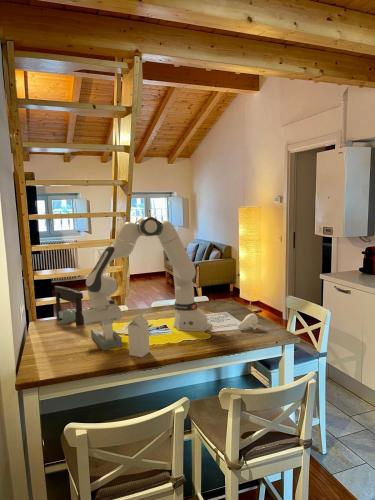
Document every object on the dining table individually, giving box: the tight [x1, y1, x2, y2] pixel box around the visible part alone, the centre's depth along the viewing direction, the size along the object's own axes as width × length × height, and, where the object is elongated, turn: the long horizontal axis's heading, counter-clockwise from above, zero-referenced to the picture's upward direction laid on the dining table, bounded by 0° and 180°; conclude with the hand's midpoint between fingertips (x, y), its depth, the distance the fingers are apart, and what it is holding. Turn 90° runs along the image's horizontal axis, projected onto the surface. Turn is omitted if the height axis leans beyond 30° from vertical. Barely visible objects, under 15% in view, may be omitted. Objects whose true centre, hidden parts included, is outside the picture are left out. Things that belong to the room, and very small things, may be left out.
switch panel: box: [90, 328, 123, 351], centre depth 189 cm, size 22×10×4 cm, turn 29°
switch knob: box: [101, 319, 114, 340], centre depth 184 cm, size 5×5×9 cm
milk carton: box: [127, 313, 150, 358], centre depth 171 cm, size 7×7×19 cm
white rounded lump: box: [237, 313, 259, 331], centre depth 202 cm, size 6×8×12 cm
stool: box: [54, 285, 85, 326], centre depth 224 cm, size 16×21×33 cm
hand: (106, 329), depth 187 cm, fingers closed, pressing on switch knob
